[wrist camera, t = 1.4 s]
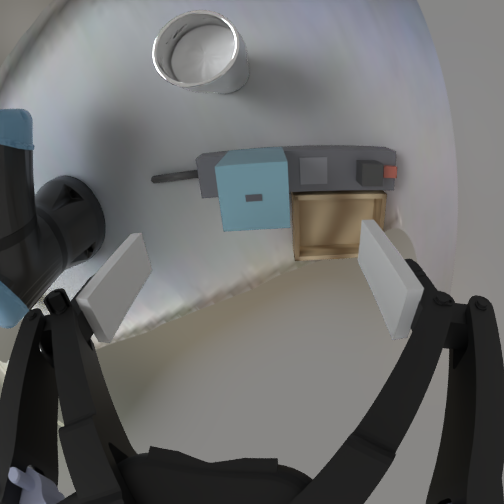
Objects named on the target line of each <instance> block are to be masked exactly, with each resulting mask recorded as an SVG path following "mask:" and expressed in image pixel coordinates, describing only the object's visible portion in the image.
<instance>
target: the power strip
mask: <svg viewBox="0 0 504 504" xmlns="http://www.w3.org/2000/svg"><path fill="white" fill-rule="evenodd" d="M282 148H283V151H284V153H285V156H286V159H287V164H288V183H289V192H304V191H338V190H394V183H395V178H397V167H396V151H393V150H391V149H389V148H386V147H374V146H287V147H282ZM227 152H228V151H221V152H212V153H204V154H201V155H200V156H199V157H197V158H196V163H197V170H194V171H186V172H179V173H171V174H165V175H158V176H153V177H152V178H151V181H152V183H160V182H167V181H175V180H183V179H191V178H199V183H200V190H201V196H202V198H211V197H219V195H218V188H217V181H216V173H215V166H216V165H217V164H218V163H219V161H220V160H221V159H222V158H223V157H224V156H225V155H226V153H227Z"/></svg>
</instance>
